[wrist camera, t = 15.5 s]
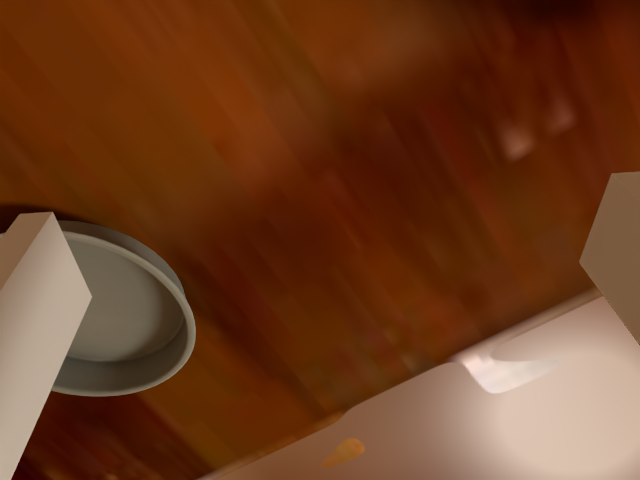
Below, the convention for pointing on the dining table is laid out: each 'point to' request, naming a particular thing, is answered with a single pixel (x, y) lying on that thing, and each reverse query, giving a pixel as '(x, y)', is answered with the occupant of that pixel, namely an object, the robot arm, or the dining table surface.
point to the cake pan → (124, 316)
